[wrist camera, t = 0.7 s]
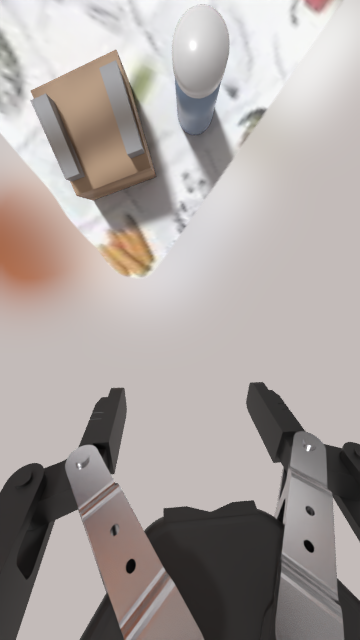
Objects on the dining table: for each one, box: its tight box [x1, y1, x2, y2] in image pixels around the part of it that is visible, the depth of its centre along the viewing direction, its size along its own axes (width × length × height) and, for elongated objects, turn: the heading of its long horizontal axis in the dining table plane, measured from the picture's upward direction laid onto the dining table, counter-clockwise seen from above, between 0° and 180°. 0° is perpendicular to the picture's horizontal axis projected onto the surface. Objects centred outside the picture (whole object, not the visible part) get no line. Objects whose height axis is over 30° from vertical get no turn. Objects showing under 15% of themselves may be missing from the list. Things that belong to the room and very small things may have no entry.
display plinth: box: [31, 50, 156, 200], centre depth 24 cm, size 10×10×6 cm
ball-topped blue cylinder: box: [172, 4, 229, 135], centre depth 21 cm, size 5×5×10 cm
